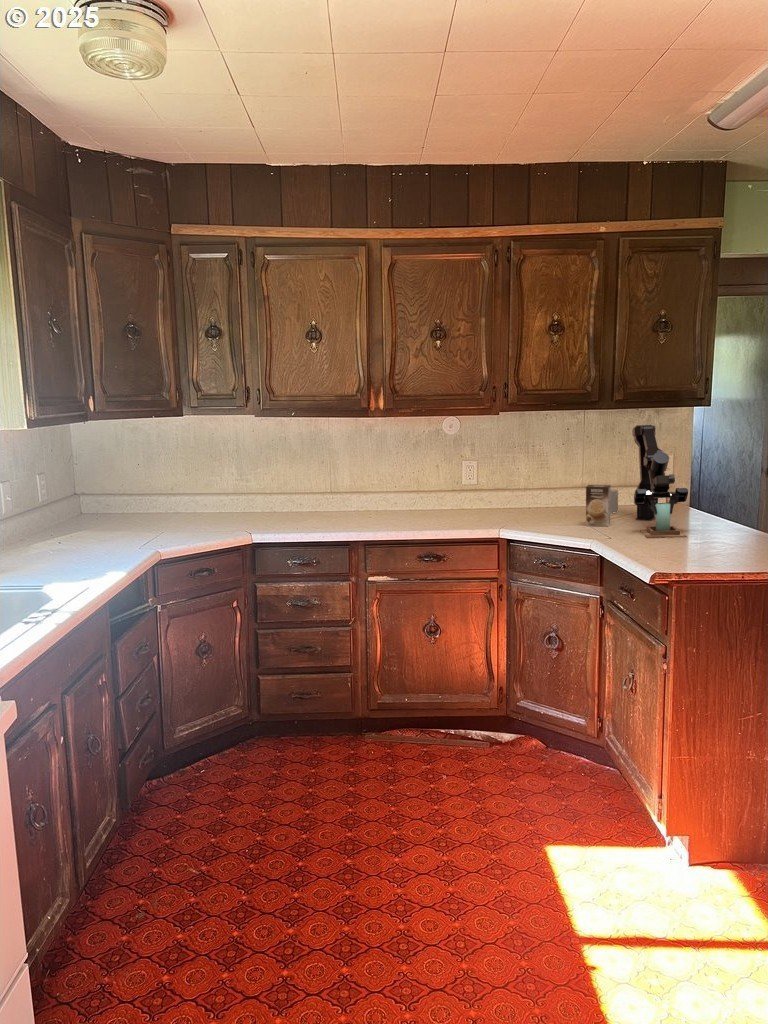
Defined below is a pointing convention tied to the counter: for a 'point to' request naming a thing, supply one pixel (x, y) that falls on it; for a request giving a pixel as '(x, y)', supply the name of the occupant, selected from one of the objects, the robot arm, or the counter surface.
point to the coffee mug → (614, 500)
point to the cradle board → (662, 532)
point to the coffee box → (598, 505)
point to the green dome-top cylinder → (663, 517)
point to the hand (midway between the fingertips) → (663, 513)
